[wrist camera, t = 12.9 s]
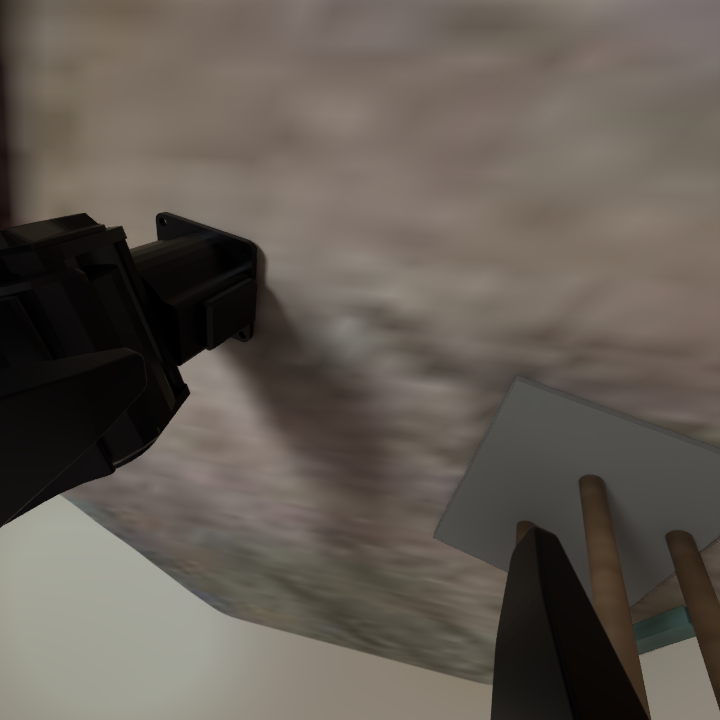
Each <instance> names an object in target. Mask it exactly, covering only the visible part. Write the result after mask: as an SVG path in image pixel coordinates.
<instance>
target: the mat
mask: <svg viewBox="0 0 720 720" xmlns="http://www.w3.org/2000/svg"><path fill="white" fill-rule="evenodd" d="M590 474H591V475H596V476H599V477H601V478H602V479H603V480H604V482H605V487H606V492H607V497H608V503H609V508H610V513H611V518H612V523H613V528H614V533H615V538H616V543H617V548H618V553H619V558H620V564H621V569H622V574H623V579H624V584H625V589H626V594H627V599H628V604H629V608H630V607H631V606H633V605H634V604H635V603H636V602H638V601H639V600H640V599H641V598H643V597H644V596H645V595H646V594H648V593H649V592H650V591H651V590H653V589H654V588H655V587H656V586H658V585H659V584H660V583H661V582H663V581H664V580H665V579H666V578H668V577H669V576H670V575H671V574H673V573H674V572H675V568H674V565H673V561H672V558H671V555H670V552H669V549H668V546H667V542H666V539H665V535H666V534H667V533H668V532H670V531H673V530H682V531H686V532H688V533H690V534H691V535H692V536H693V537H694V540H695V543H696V545H697V548H698V550H699V552H700V551H701V550H703V549H704V548H705V547H706V546H708V545H709V544H710V543H711V542H713V541H714V540H715V539H716V538H718V537H719V536H720V449H719V448H716V447H714V446H711V445H708V444H705V443H703V442H700V441H697V440H694V439H692V438H689V437H686V436H683V435H680V434H678V433H675V432H672V431H669V430H667V429H664V428H661V427H658V426H656V425H653V424H650V423H647V422H645V421H642V420H639V419H636V418H634V417H631V416H628V415H625V414H623V413H620V412H617V411H614V410H611V409H609V408H606V407H603V406H600V405H598V404H595V403H592V402H589V401H587V400H584V399H581V398H578V397H576V396H573V395H570V394H567V393H565V392H562V391H559V390H556V389H554V388H551V387H548V386H545V385H542V384H540V383H537V382H534V381H531V380H529V379H526V378H523V377H520V376H518V375H516V377H515V379H514V381H513V383H512V385H511V387H510V389H509V391H508V393H507V394H506V396H505V398H504V400H503V402H502V404H501V406H500V408H499V410H498V412H497V414H496V415H495V417H494V419H493V421H492V423H491V425H490V427H489V429H488V431H487V433H486V434H485V436H484V438H483V440H482V442H481V444H480V446H479V448H478V450H477V452H476V454H475V455H474V457H473V459H472V461H471V463H470V465H469V467H468V469H467V471H466V473H465V475H464V476H463V478H462V480H461V482H460V484H459V486H458V488H457V490H456V492H455V494H454V495H453V497H452V499H451V501H450V503H449V505H448V507H447V509H446V511H445V513H444V515H443V516H442V518H441V520H440V522H439V524H438V526H437V528H436V530H435V532H434V536H433V538H435V539H437V540H439V541H441V542H443V543H446V544H448V545H450V546H452V547H454V548H456V549H459V550H461V551H463V552H465V553H467V554H469V555H472V556H474V557H476V558H478V559H480V560H482V561H485V562H487V563H489V564H491V565H493V566H495V567H498V568H500V569H502V570H504V571H506V572H508V571H509V565H510V560H511V556H512V553H513V551H514V549H515V547H516V527H517V523H518V522H520V521H530V522H533V523H534V524H536V526H539V527H541V528H543V529H545V530H548V531H550V532H552V533H554V534H555V535H556V536H557V537H558V538H559V540H560V542H561V544H562V546H563V548H564V550H565V552H566V554H567V556H568V558H569V560H570V562H571V564H572V566H573V568H574V570H575V572H576V574H577V576H578V578H579V580H580V582H581V584H582V586H583V588H584V590H585V592H586V594H587V596H588V598H589V600H590V602H591V604H592V606H593V608H594V603H593V595H592V587H591V579H590V571H589V563H588V555H587V547H586V539H585V531H584V523H583V515H582V506H581V498H580V490H579V479H580V478H581V477H582V476H584V475H590Z"/></svg>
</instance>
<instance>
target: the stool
mask: <svg viewBox="0 0 720 720" xmlns="http://www.w3.org/2000/svg"><path fill="white" fill-rule="evenodd" d="M579 490H580V498H581V506H582V515H583V523H584V531H585V539H586V547H587V555H588V563H589V571H590V579H591V587H592V595H593V603H594V610H595V612H596V614H597V616H598V618H599V620H600V622H601V624H602V626H603V628H604V630H605V632H606V634H607V636H608V638H609V640H610V641H611V643H612V645H613V647H614V649H615V651H616V653H617V655H618V657H619V659H620V661H621V663H622V665H623V667H624V669H625V671H626V673H627V675H628V677H629V679H630V681H631V683H632V685H633V687H634V689H635V691H636V693H637V695H638V697H639V699H640V701H641V703H642V705H643V707H644V709H645V711H646V713H647V715H648V717H649V719H650V720H651V716H650V711H649V706H648V701H647V696H646V691H645V686H644V681H643V675H642V670H641V665H640V660H639V654H642V653H645V652H648V651H652V650H655V649H658V648H661V647H664V646H667V645H670V644H673V643H676V642H680V641H683V640H686V639H689V638H692V637H695V636H696V637H697V640H698V643H699V647H700V650H701V653H702V656H703V659H704V662H705V665H706V669H707V671H708V675H709V678H710V681H711V684H712V687H713V691H714V694H715V697H716V700H717V703H718V706H719V710H720V605H719V602H718V599H717V597H716V594H715V592H714V589H713V587H712V584H711V581H710V579H709V576H708V574H707V571H706V568H705V566H704V563H703V561H702V558H701V555H700V553H699V550H698V548H697V545H696V543H695V540H694V537H693V536H692V535H691V534H690V533H688V532H686V531H682V530H673V531H670V532H668V533H667V534H666V535H665V539H666V542H667V546H668V549H669V552H670V555H671V558H672V561H673V565H674V568H675V571H676V574H677V577H678V580H679V583H680V587H681V590H682V593H683V596H684V599H685V602H686V606H687V607H685V606H684V605H682V606H680V607H677V608H675V609H672V610H669V611H667V612H664V613H661V614H659V615H656V616H654V617H651V618H648V619H646V620H643V621H640V622H638V623H635V624H633V625H632V619H631V614H630V609H629V604H628V599H627V594H626V589H625V584H624V579H623V574H622V569H621V564H620V558H619V553H618V548H617V543H616V538H615V533H614V528H613V523H612V518H611V513H610V508H609V503H608V497H607V492H606V487H605V482H604V480H603V479H602V478H601V477H599V476H596V475H591V474H590V475H584V476H582V477H581V478H580V479H579ZM532 526H536V524H534V523H533V522H530V521H520V522H518V523H517V527H516V546H517V544H518V543H519V542H520V540H521V539H522V538H523V536H524V535H525V534H526V532H527V531H528V530H529V529H530V528H531V527H532Z"/></svg>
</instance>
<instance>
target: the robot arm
mask: <svg viewBox="0 0 720 720" xmlns="http://www.w3.org/2000/svg"><path fill="white" fill-rule="evenodd" d="M164 219H165V220H166V223H167V224H166V223H165V220H164ZM156 227H157V237H158V241H155V242H152V243H148V244H145V245H142V246H139V247H135V248H132V249H129V247H128V245H127V242H126V240H125V239H126V238H127V236H126V234H125V232H124V229H123V227H122V226H116V227H109V228H106V227H105V225H104V224H103V225H101V224H98V223H97V222H95V221H94V220H93V219H92V218H91V217H89V216H88V215H87V214H86V213H81V214H75V215H70V216H64V217H59V218H54V219H49V220H44V221H39V222H34V223H29V224H25V225H20V226H16V227H11V228H7V229H2V230H0V528H1V527H2V526H3V525H5V524H7V523H9V522H11V521H12V520H14V519H16V518H17V517H19V516H21V515H23V514H24V513H26V512H28V511H30V510H31V509H33V508H35V507H36V506H38V505H40V504H42V503H43V502H45V501H47V500H49V499H51V498H53V497H54V496H56V495H58V494H60V493H62V492H65V491H67V490H69V489H72V488H74V487H76V486H78V485H81V484H83V483H86V482H89V481H92V480H95V479H99V478H102V477H105V476H108V475H111V474H112V473H114V472H115V470H116V468H119V467H121V466H123V465H125V464H127V463H129V462H131V461H133V460H134V459H136V458H137V457H139V456H140V455H142V454H143V453H144V452H145V451H146V450H148V449H149V448H150V447H151V446H152V444H153V443H154V442H155V441H156V440H157V438H158V437H159V436H160V434H161V433H162V431H163V430H164V429H165V427H166V426H167V425H168V423H169V422H170V421H171V419H172V418H173V416H174V415H175V414H176V412H177V411H178V410H179V408H180V407H181V406H182V404H183V403H184V401H185V400H186V399H187V397H188V396H189V395H190V391H189V388H188V386H187V384H185V383H184V381H183V379H182V376H181V374H180V371H179V369H178V367H177V366H181V365H182V364H184V363H185V362H187V361H188V360H190V359H191V358H193V357H194V356H196V355H197V354H198V353H200V352H201V351H203V350H204V349H207V350H209V351H210V350H212V349H214V348H216V347H217V346H218V345H220V344H221V343H223V342H224V341H226V340H227V339H229V338H230V337H232V338H234V339H237V340H239V341H242V342H247V341H249V340H250V339H251V338H252V336H253V322H254V320H255V311H256V291H257V284H256V260H257V248H256V246H255V244H254V243H253V242H252V241H250V240H248V239H245V238H242V237H239V236H236V235H233V234H230V233H227V232H224V231H221V230H218V229H215V228H212V227H209V226H206V225H204V224H201V223H198V222H195V221H192V220H189V219H186V218H183V217H180V216H177V215H174V214H171V213H168V212H162V213H159V214H157V216H156ZM245 246H246V247H247V248H248V250H249V253H248V252H247V251H246V249H245ZM243 332H244V333H245V334H246V335H244V334H243ZM491 720H650V719H649V717H648V715H647V713H646V711H645V709H644V707H643V705H642V703H641V701H640V699H639V697H638V695H637V693H636V691H635V689H634V687H633V685H632V683H631V681H630V679H629V677H628V675H627V673H626V671H625V669H624V667H623V665H622V663H621V661H620V659H619V657H618V655H617V653H616V651H615V649H614V647H613V645H612V643H611V641H610V640H609V638H608V636H607V634H606V632H605V630H604V628H603V626H602V624H601V622H600V620H599V618H598V616H597V614H596V612H595V610H594V608H593V606H592V604H591V602H590V600H589V598H588V596H587V594H586V592H585V590H584V588H583V586H582V584H581V582H580V580H579V578H578V576H577V574H576V572H575V570H574V568H573V566H572V564H571V562H570V560H569V558H568V556H567V554H566V552H565V550H564V548H563V546H562V544H561V542H560V540H559V538H558V537H557V536H556V535H555V534H554V533H552V532H550V531H548V530H545V529H543V528H541V527H539V526H532V527H531V528H530V529H529V530H528V531H527V532H526V534H525V535H524V536H523V538H522V539H521V540H520V542H519V543H518V544H517V546H516V547H515V549H514V551H513V553H512V556H511V560H510V565H509V571H508V576H507V582H506V587H505V593H504V598H503V604H502V609H501V615H500V620H499V626H498V632H497V638H496V648H495V661H494V676H493V691H492V707H491Z"/></svg>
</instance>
